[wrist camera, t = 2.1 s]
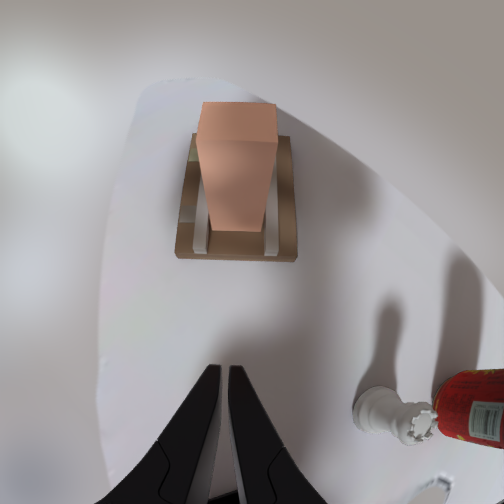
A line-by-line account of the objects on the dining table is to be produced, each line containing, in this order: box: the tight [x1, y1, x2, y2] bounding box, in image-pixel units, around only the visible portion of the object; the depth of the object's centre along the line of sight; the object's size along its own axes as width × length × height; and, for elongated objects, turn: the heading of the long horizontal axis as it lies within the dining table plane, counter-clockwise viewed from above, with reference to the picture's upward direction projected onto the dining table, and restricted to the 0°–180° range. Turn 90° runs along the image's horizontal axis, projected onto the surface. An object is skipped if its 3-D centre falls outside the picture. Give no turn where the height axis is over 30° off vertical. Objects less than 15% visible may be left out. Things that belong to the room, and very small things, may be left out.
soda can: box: [432, 369, 504, 449], centre depth 14 cm, size 7×7×12 cm
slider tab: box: [196, 102, 278, 232], centre depth 18 cm, size 3×4×11 cm
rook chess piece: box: [353, 386, 439, 446], centre depth 16 cm, size 4×4×8 cm
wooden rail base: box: [175, 133, 297, 262], centre depth 25 cm, size 13×10×3 cm
